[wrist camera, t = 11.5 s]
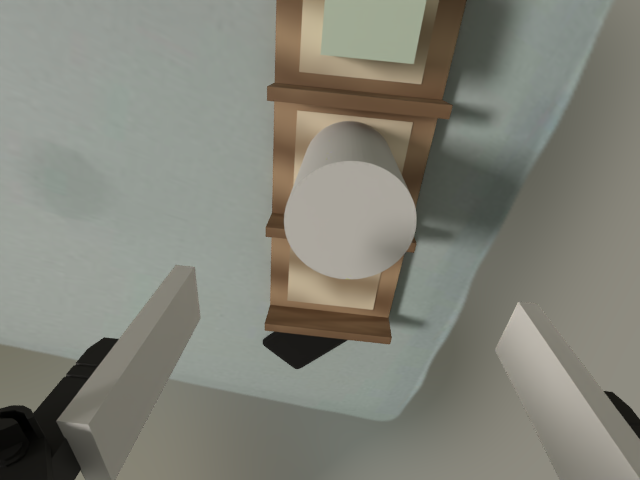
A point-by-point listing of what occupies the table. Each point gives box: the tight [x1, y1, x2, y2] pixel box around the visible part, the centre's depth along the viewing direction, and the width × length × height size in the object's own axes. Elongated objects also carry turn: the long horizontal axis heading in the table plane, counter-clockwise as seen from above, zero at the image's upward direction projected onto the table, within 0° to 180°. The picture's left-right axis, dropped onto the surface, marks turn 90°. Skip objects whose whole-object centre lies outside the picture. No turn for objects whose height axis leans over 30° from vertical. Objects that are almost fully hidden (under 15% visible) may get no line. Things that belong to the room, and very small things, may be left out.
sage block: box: [321, 0, 426, 64], centre depth 23 cm, size 6×6×6 cm
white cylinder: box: [284, 121, 417, 279], centre depth 26 cm, size 8×8×12 cm
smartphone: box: [263, 332, 346, 369], centre depth 43 cm, size 7×1×15 cm
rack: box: [265, 0, 467, 344], centre depth 31 cm, size 37×14×4 cm, turn 175°
